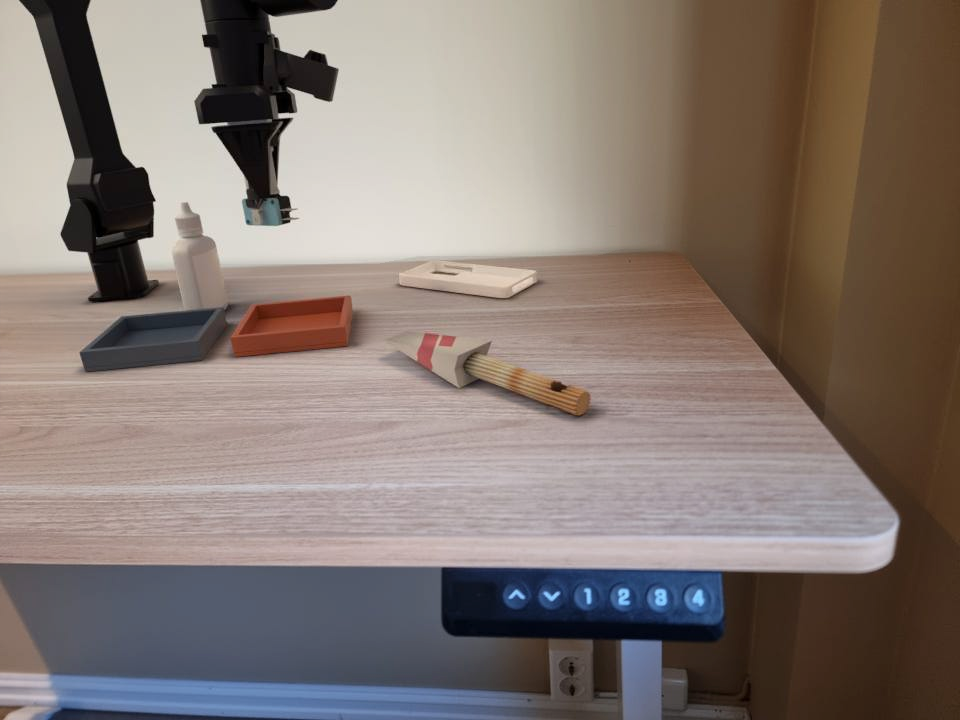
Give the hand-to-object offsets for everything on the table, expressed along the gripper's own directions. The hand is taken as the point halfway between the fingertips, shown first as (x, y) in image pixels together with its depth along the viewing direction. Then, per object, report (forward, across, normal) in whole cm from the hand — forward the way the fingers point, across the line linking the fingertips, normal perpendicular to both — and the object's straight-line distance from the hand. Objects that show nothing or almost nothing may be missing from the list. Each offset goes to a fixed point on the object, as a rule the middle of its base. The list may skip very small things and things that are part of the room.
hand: (268, 194), depth 69 cm
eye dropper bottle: (+13, +3, +9) cm, 16 cm away
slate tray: (+12, -7, +11) cm, 18 cm away
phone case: (+13, +5, -20) cm, 24 cm away
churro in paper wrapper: (+13, -23, -18) cm, 32 cm away
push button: (+3, -1, 0) cm, 3 cm away
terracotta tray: (+12, -7, -2) cm, 14 cm away
